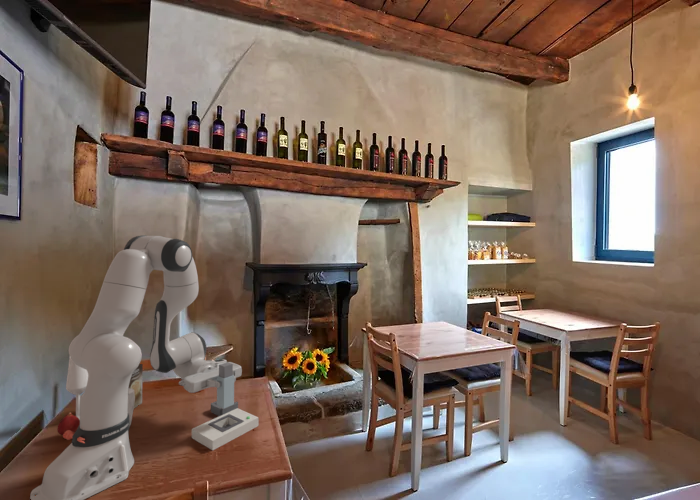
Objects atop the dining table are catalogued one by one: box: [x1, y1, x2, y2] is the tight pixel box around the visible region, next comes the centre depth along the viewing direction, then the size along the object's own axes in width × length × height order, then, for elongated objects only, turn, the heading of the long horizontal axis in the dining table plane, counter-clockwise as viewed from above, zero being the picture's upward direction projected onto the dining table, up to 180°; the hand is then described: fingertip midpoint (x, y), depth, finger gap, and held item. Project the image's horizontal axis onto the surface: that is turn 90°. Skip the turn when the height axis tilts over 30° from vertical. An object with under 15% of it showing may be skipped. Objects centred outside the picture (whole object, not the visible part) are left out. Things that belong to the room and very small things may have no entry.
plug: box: [216, 361, 235, 409], centre depth 117 cm, size 4×4×14 cm
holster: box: [210, 400, 239, 417], centre depth 131 cm, size 7×8×3 cm
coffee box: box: [128, 363, 144, 410], centre depth 133 cm, size 9×6×16 cm
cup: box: [128, 388, 135, 426], centre depth 119 cm, size 9×9×12 cm
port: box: [191, 407, 260, 451], centre depth 116 cm, size 18×12×3 cm, turn 145°
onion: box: [56, 412, 80, 437], centre depth 113 cm, size 6×6×8 cm
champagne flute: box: [65, 356, 88, 420], centre depth 123 cm, size 7×7×24 cm
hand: (227, 382), depth 116 cm, fingers closed on plug, 4 cm apart
